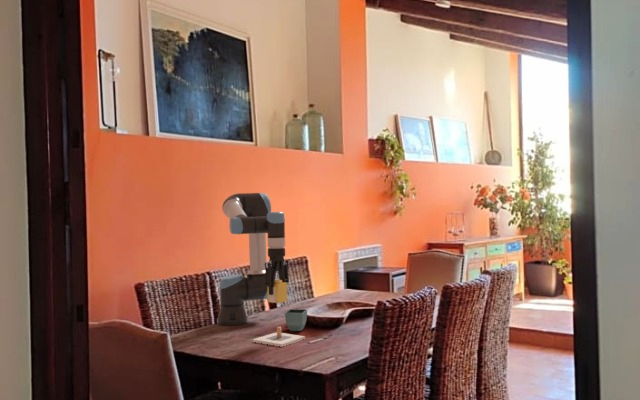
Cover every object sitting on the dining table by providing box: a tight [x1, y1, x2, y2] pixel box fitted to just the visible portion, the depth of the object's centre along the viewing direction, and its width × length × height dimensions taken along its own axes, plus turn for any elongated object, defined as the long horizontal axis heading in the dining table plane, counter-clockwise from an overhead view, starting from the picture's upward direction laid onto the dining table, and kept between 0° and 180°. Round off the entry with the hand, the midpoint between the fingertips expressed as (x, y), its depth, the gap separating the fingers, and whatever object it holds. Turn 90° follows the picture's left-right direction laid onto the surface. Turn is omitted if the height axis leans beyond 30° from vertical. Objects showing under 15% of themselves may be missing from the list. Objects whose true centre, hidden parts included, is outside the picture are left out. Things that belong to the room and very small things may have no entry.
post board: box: [252, 326, 306, 348], centre depth 253 cm, size 16×16×6 cm
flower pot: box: [284, 308, 308, 332], centre depth 273 cm, size 9×9×9 cm
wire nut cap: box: [267, 279, 288, 304], centre depth 253 cm, size 6×6×9 cm
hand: (277, 300), depth 253 cm, fingers closed on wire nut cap, 6 cm apart
